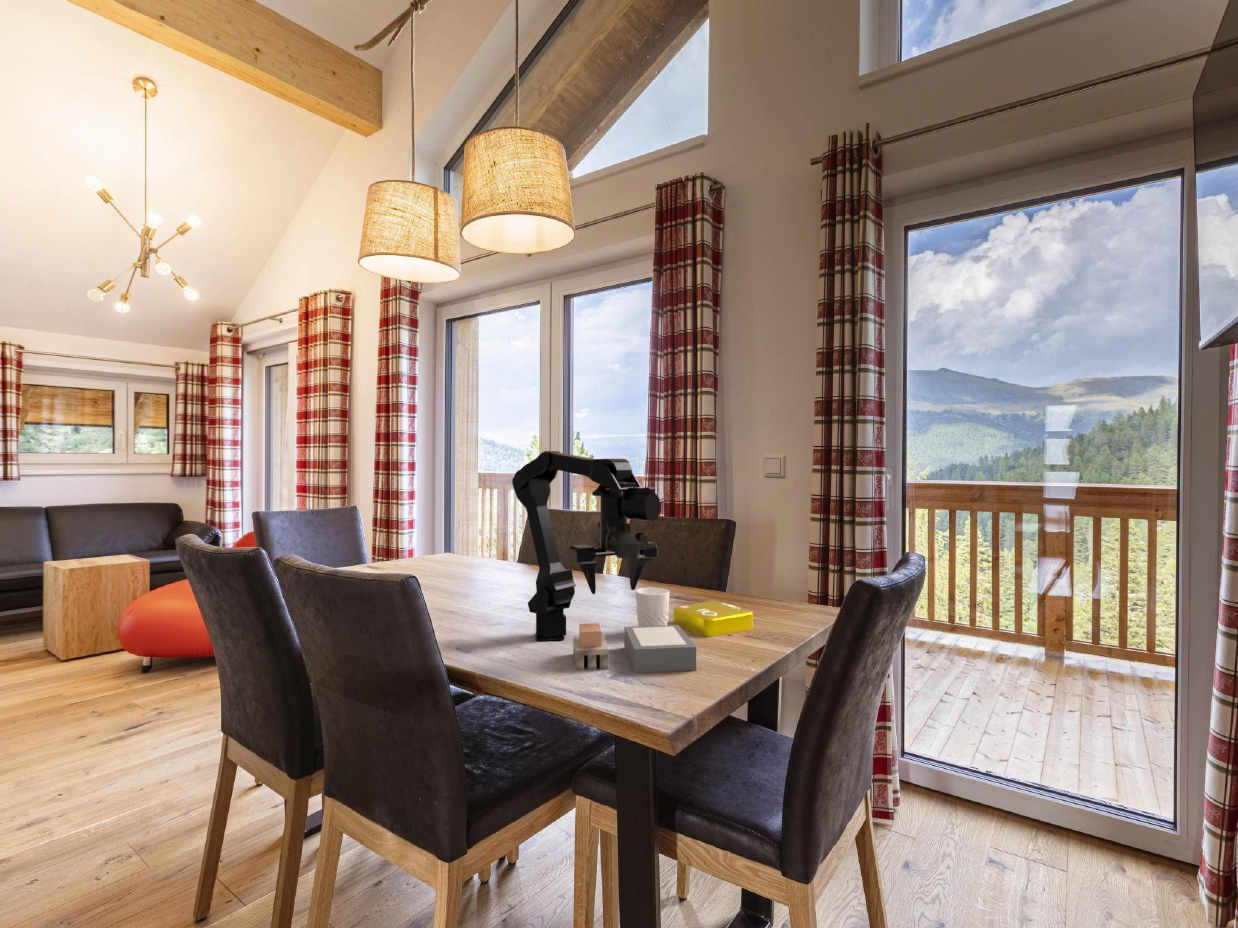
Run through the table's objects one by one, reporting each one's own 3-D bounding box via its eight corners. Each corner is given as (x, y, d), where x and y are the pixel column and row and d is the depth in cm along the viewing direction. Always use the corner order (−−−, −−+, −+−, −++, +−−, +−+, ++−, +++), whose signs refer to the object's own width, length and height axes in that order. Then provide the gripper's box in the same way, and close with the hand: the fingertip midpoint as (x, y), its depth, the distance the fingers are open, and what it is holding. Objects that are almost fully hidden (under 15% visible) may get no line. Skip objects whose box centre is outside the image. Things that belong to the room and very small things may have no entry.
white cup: (657, 640, 140) (657, 596, 140) (629, 634, 145) (629, 591, 145) (675, 632, 146) (675, 590, 146) (648, 626, 151) (648, 586, 151)
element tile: (756, 629, 150) (756, 610, 150) (707, 639, 142) (707, 618, 142) (717, 616, 163) (717, 598, 163) (670, 624, 155) (670, 604, 155)
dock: (635, 672, 119) (634, 648, 119) (624, 647, 135) (624, 626, 135) (696, 669, 120) (696, 646, 120) (678, 645, 136) (678, 624, 136)
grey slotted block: (575, 670, 121) (575, 650, 121) (573, 654, 130) (573, 635, 130) (608, 669, 121) (608, 649, 121) (603, 653, 131) (603, 634, 131)
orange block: (581, 646, 123) (581, 631, 123) (579, 638, 129) (579, 623, 129) (601, 646, 123) (601, 631, 123) (598, 637, 129) (598, 623, 129)
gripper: (587, 523, 119) (587, 604, 120) (671, 519, 128) (671, 595, 128) (566, 518, 129) (566, 593, 130) (645, 515, 138) (645, 585, 138)
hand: (613, 591), depth 131 cm, fingers open, 9 cm apart
